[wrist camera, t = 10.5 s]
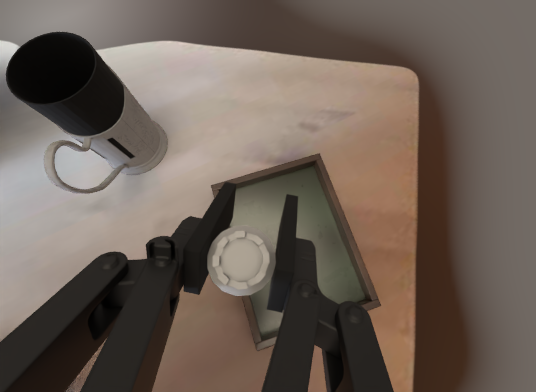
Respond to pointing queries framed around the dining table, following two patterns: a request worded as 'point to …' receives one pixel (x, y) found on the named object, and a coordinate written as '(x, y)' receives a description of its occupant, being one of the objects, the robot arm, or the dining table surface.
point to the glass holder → (85, 105)
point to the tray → (301, 236)
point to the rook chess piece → (241, 260)
